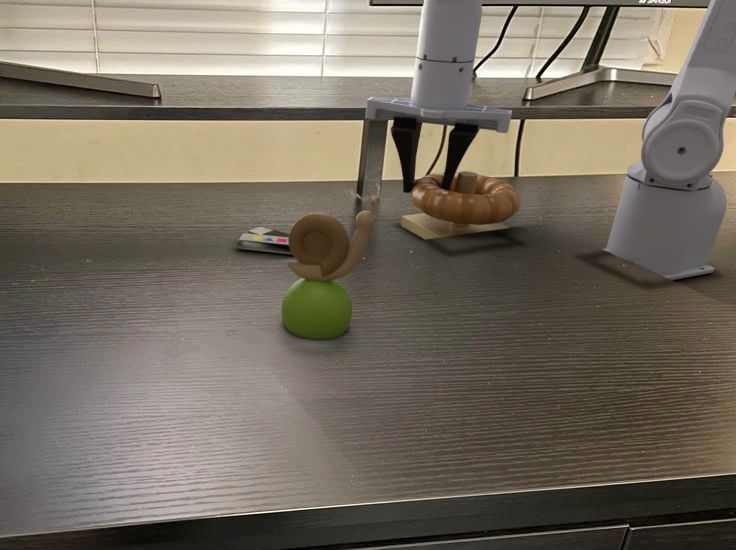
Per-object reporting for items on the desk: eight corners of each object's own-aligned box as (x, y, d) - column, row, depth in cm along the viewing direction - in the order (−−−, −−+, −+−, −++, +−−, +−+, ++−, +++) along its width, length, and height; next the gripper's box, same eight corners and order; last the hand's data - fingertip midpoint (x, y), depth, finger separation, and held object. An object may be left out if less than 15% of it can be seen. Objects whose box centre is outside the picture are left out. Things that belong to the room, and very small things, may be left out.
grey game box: (326, 254, 74) (326, 244, 74) (293, 268, 71) (294, 258, 70) (261, 233, 79) (261, 224, 79) (227, 245, 76) (227, 236, 75)
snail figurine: (358, 363, 56) (376, 208, 50) (274, 353, 57) (281, 199, 51) (364, 331, 60) (380, 185, 54) (286, 322, 61) (293, 178, 55)
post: (465, 217, 86) (475, 159, 83) (518, 243, 79) (531, 181, 76) (400, 225, 83) (408, 166, 80) (449, 253, 76) (459, 189, 73)
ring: (471, 191, 86) (476, 166, 85) (538, 222, 77) (545, 194, 76) (389, 200, 82) (393, 173, 81) (450, 233, 73) (455, 204, 72)
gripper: (364, 57, 73) (351, 193, 79) (517, 70, 68) (490, 212, 75) (380, 49, 78) (367, 177, 85) (523, 60, 74) (497, 194, 81)
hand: (425, 192), depth 80 cm, fingers closed on ring, 3 cm apart
